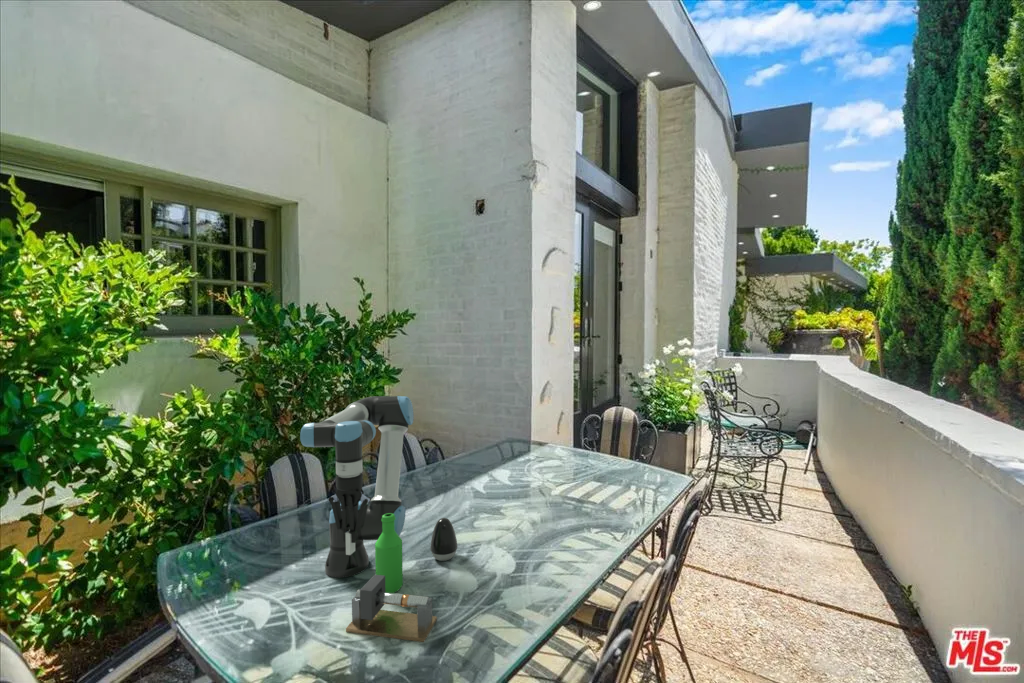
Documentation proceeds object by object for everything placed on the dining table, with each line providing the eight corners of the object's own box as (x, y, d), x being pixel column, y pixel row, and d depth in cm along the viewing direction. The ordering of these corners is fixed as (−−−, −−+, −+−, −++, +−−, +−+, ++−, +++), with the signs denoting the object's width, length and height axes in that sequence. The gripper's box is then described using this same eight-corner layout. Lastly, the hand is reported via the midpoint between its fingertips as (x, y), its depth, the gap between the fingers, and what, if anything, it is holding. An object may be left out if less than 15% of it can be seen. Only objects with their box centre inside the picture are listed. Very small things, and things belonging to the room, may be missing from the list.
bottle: (405, 580, 157) (404, 509, 156) (399, 595, 148) (398, 519, 148) (379, 581, 157) (378, 510, 156) (372, 596, 148) (371, 520, 148)
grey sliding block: (360, 618, 130) (359, 589, 130) (374, 601, 138) (374, 574, 138) (371, 620, 129) (371, 591, 129) (385, 602, 138) (385, 575, 138)
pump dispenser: (432, 566, 166) (431, 525, 166) (429, 553, 176) (428, 514, 176) (459, 562, 169) (458, 522, 169) (455, 549, 179) (454, 511, 179)
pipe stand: (345, 631, 130) (345, 599, 130) (364, 610, 140) (363, 580, 140) (423, 642, 125) (423, 608, 125) (436, 619, 135) (436, 588, 135)
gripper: (322, 476, 132) (323, 556, 132) (362, 479, 130) (363, 560, 130) (337, 469, 140) (338, 545, 140) (375, 471, 137) (376, 548, 137)
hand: (350, 552), depth 135 cm, fingers closed
